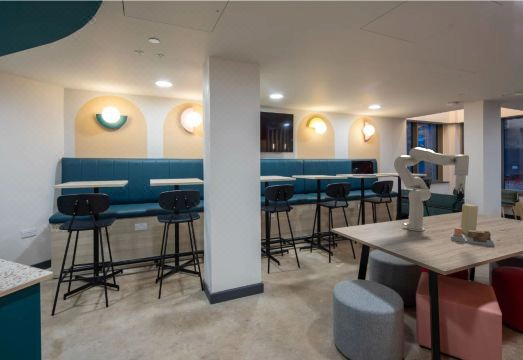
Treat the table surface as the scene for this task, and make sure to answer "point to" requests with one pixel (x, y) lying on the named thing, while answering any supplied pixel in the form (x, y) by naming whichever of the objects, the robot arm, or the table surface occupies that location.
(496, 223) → the table surface
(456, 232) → the brown rectangular brick
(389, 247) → the table surface
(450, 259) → the table surface
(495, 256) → the table surface
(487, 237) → the brown tabbed block
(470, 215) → the toy refrigerator
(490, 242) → the jig
